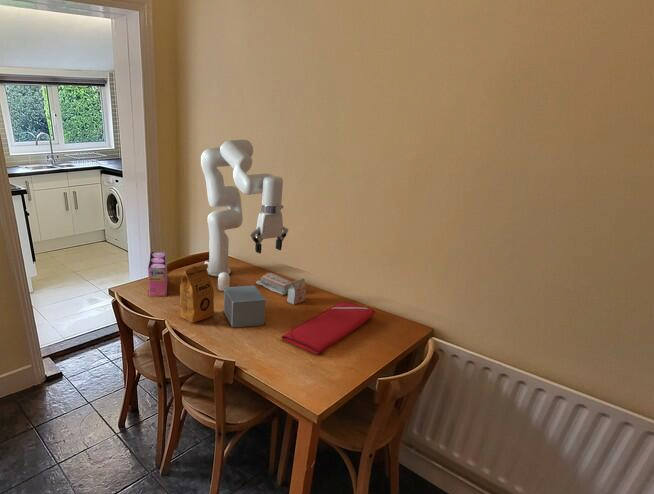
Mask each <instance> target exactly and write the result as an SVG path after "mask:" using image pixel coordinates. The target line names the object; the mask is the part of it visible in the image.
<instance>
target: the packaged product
mask: <svg viewBox="0 0 654 494" xmlns="http://www.w3.org/2000/svg"><path fill="white" fill-rule="evenodd" d="M255 284H257V285H259V286H262V287H264V288H266V289H267V290H269V291H270V292H275V293H277V294H280V295H282V296H286V295H288V289H289V287H290V286H291V284H292V281H291V280H289V279H287V278H285V277H283V276H280V275H277V274H276V273H272V272H266V273H265V274H264V275H262V276H260V279H259V280H257V281H255Z"/></svg>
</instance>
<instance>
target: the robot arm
mask: <svg viewBox="0 0 654 494" xmlns="http://www.w3.org/2000/svg"><path fill="white" fill-rule="evenodd" d="M253 154H254V146H253V144H252V142H251V141H249V140H248V139H230V140H226V141H225V142H223V143H222V144H221V145H220V146H218V147H217V146H216V147H209V148H207V149H205V150H204V151H203V152H202V154H201V156H200V166H201V170H202V173H203V175H204V179H205V186H206V195H207V200H208V205H209V206H210V207H211V208H214V209H216V208H217V209H219V208H227V209H220V210H214V211H211V212H210V213H209V214H208V215H207V220H206V221H207V228H208V236H209V243H208V244H209V245H208V246H209V249H208V253H209V255H208V256H209V257H208V259H209V260H208V261H207V260H205V261H204V263H203V264H206V263H207V264H208V268H207V271H208V274H209V276H211V277H216V278H218V276H219V274H220V273H222V272H226V273H227V274H228V275H229V276H230V274H231V273H232V270H231V268H229V236H228V235H227V233H226V232H225V231H227V230H232V229H233V230H234V229H238V228H240V227H241V226H242V224H243V218H244V217H243V209H242V200H241V199H242V198H241V194H240V192H241V193H243V194H244V195H248V196H250V195H257V194H261V195H262V196H261V209H260V210H261V212H259V213H258V216H257V221H256V228H255V229H254V230H253V231H252V232H250V237H251V240H252V241H253V242H254V243H255V244H254V245H255V247H254V250H255V253H257V254H259V255H260V254H261V253H262V242H263V240H266V239H275V238H276V240H275V249H276V250H277V251H282V246H283V241H284V239H285V238H286V237H287V234H288V232H289V228H287V227H286V226H284V223H283V222H284V220H283V211H282V209H284V205H283V204H282V201H283V185H284V179H283V178H282V177H281V176H277V175H273V174H271V173H256V174H255V173H254V174H247V173H248V172H249V171H250V169H251V168H252V166H253V158H252V157H253ZM221 167H230V168H232V169H233V171H232V178H233V183H234V185H235V186H234V185H227V186H226V185H225V180H224V175H223V174H222V172H221V171H220V169H218V168H221Z"/></svg>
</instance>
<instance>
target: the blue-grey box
mask: <svg viewBox="0 0 654 494" xmlns="http://www.w3.org/2000/svg"><path fill="white" fill-rule="evenodd" d="M266 303H267V300H266V298H265V297H264V296H263V294H262V293H261V292H260V290H259V289H258V288H257V287H256V285H243V286H242V285H239V286H229V287H225V288H224V291H223V313H224V314H225V316H226V318H227V320H228V322H229V324H230V326H231V328H244V327H254V326H255V327H256V326H265V319H266V317H265V315H266Z"/></svg>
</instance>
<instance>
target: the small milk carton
mask: <svg viewBox="0 0 654 494" xmlns="http://www.w3.org/2000/svg"><path fill="white" fill-rule="evenodd" d="M306 286H307V285H306V282H305V278H304V277H303V278H299V279H296V280H293V281H292V284H291V286H290V287H289V289H288V294H287V303H289V304H291V305H297V304H301V303H303V302H305V301H306V293H307V292H306V291H307V287H306Z"/></svg>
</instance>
